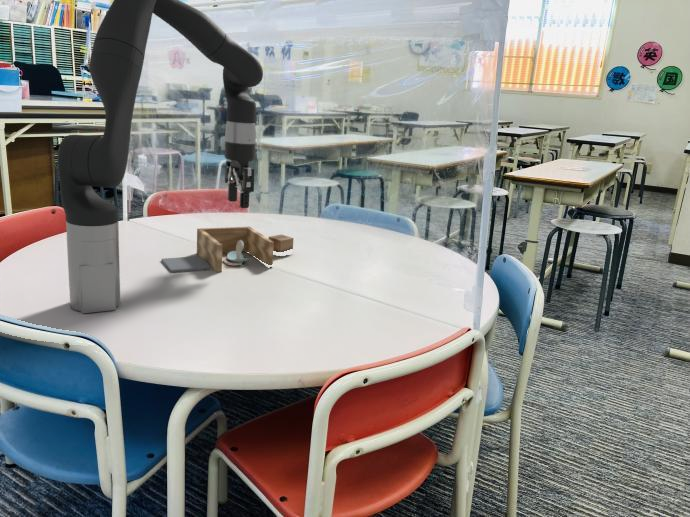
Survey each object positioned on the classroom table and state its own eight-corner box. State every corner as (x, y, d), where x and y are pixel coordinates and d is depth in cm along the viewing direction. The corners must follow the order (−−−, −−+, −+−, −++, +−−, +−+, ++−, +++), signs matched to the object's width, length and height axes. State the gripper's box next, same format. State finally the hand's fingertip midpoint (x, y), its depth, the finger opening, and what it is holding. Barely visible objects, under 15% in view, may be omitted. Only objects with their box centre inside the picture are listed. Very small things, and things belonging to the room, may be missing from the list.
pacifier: (229, 268, 141) (251, 266, 144) (229, 245, 139) (251, 243, 142) (219, 260, 147) (240, 258, 150) (219, 238, 145) (240, 236, 148)
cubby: (272, 267, 144) (273, 242, 142) (217, 272, 136) (217, 245, 134) (248, 250, 158) (249, 226, 156) (196, 253, 150) (197, 228, 148)
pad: (211, 269, 138) (211, 267, 138) (171, 272, 133) (171, 270, 133) (199, 258, 146) (199, 256, 146) (161, 260, 141) (161, 258, 141)
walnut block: (292, 254, 158) (293, 238, 156) (280, 257, 154) (281, 240, 152) (280, 250, 161) (281, 234, 159) (267, 253, 157) (268, 236, 155)
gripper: (265, 144, 133) (262, 210, 137) (244, 138, 144) (241, 198, 149) (236, 143, 129) (233, 210, 133) (216, 137, 140) (215, 199, 145)
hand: (238, 204), depth 141 cm, fingers open, 8 cm apart
